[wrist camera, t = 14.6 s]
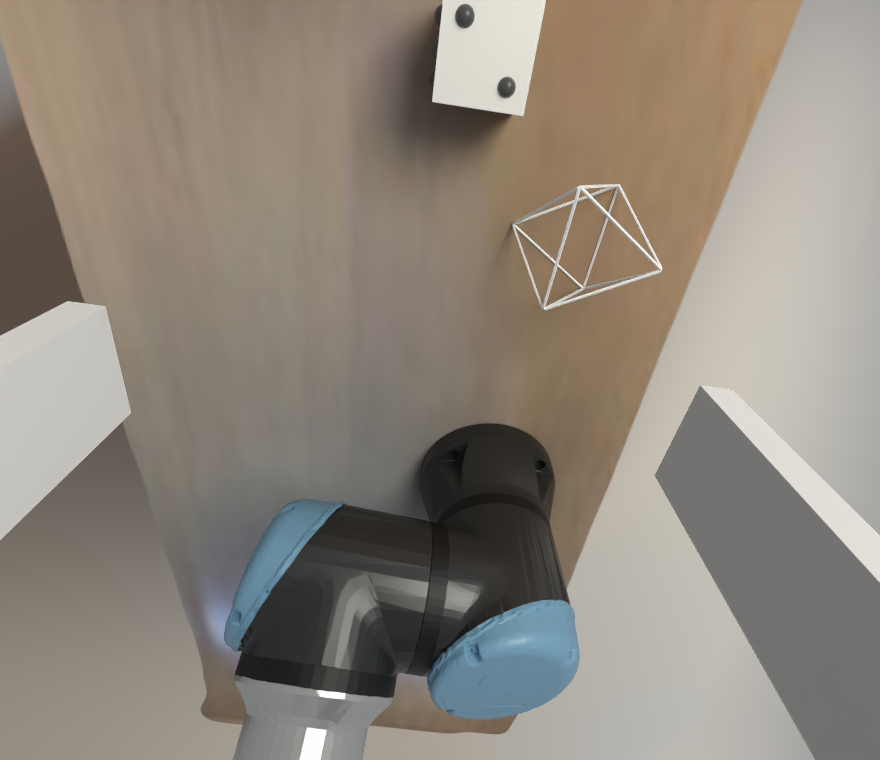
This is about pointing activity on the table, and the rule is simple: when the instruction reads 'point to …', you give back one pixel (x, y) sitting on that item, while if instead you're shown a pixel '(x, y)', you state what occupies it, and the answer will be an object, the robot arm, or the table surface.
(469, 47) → the die
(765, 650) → the robot arm
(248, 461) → the table surface
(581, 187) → the geometric polyhedron
